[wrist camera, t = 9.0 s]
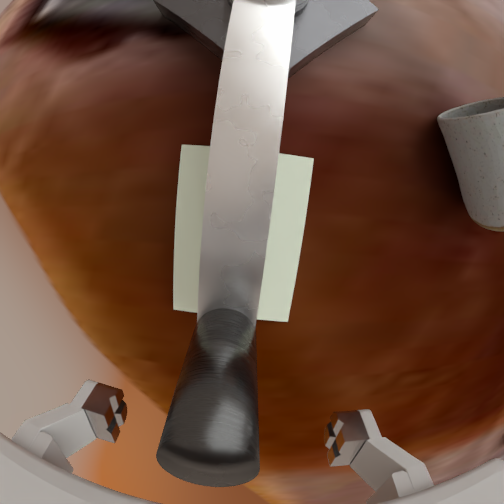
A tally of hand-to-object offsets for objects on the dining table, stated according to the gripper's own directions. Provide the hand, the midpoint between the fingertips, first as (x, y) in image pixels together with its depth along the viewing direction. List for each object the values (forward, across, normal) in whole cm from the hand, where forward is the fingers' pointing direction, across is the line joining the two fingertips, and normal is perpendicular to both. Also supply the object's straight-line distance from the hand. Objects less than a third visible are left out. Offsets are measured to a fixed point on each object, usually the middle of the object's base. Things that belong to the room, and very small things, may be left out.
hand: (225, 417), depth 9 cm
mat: (+10, 0, -4) cm, 11 cm away
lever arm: (+8, 0, -11) cm, 13 cm away
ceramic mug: (+11, -17, -14) cm, 25 cm away
